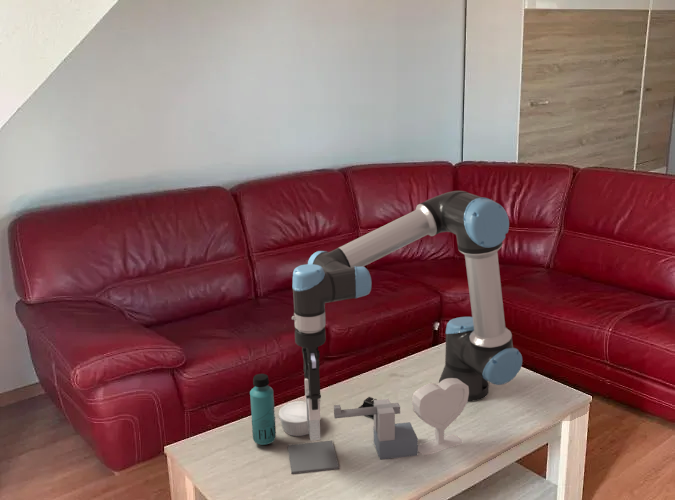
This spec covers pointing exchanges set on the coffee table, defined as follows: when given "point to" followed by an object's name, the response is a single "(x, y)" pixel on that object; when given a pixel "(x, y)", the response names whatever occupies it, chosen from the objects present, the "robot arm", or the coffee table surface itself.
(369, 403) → the black phone stand
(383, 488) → the coffee table surface
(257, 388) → the beverage bottle
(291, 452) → the mat
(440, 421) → the heart sculpture
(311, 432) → the ring
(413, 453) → the vise
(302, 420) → the ramekin
